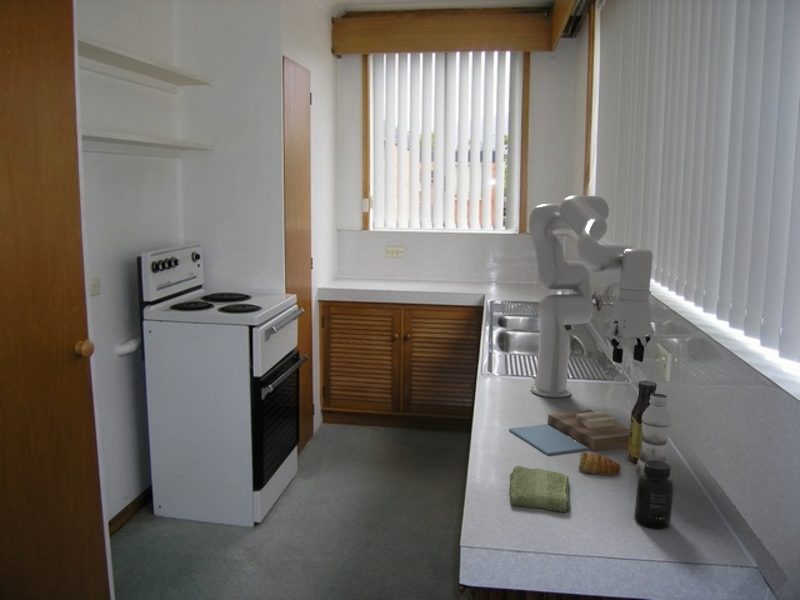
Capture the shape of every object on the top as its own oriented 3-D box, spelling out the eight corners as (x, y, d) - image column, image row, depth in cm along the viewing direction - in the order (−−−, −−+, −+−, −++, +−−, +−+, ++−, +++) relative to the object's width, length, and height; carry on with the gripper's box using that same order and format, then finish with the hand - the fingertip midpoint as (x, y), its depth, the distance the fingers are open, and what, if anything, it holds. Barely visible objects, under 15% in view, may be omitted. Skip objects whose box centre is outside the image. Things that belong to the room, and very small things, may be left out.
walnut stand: (547, 424, 196) (548, 414, 195) (589, 419, 201) (589, 409, 201) (593, 450, 178) (594, 439, 177) (637, 444, 183) (638, 433, 183)
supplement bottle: (676, 522, 141) (682, 465, 139) (660, 533, 136) (666, 474, 134) (643, 510, 146) (649, 455, 144) (627, 520, 141) (633, 463, 139)
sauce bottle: (633, 453, 177) (640, 376, 173) (658, 460, 173) (666, 382, 169) (622, 461, 172) (630, 382, 168) (648, 468, 168) (656, 387, 164)
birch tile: (575, 421, 190) (576, 413, 190) (600, 418, 194) (600, 411, 193) (589, 428, 185) (590, 421, 185) (614, 425, 188) (615, 418, 188)
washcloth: (568, 481, 160) (570, 467, 159) (570, 516, 143) (571, 501, 142) (510, 474, 162) (511, 460, 162) (504, 507, 145) (505, 493, 145)
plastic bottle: (629, 479, 161) (638, 395, 157) (643, 472, 165) (652, 389, 162) (656, 489, 156) (666, 402, 153) (670, 481, 161) (679, 396, 158)
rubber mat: (508, 430, 190) (509, 428, 190) (546, 426, 194) (546, 424, 194) (547, 455, 173) (547, 453, 173) (587, 449, 178) (587, 447, 178)
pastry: (619, 468, 168) (621, 453, 167) (619, 479, 161) (621, 464, 161) (579, 462, 170) (580, 447, 170) (577, 473, 164) (578, 457, 163)
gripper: (649, 292, 194) (643, 356, 197) (598, 294, 187) (592, 360, 190) (669, 296, 187) (662, 362, 190) (616, 298, 180) (610, 367, 183)
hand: (627, 360), depth 190 cm, fingers open, 6 cm apart
